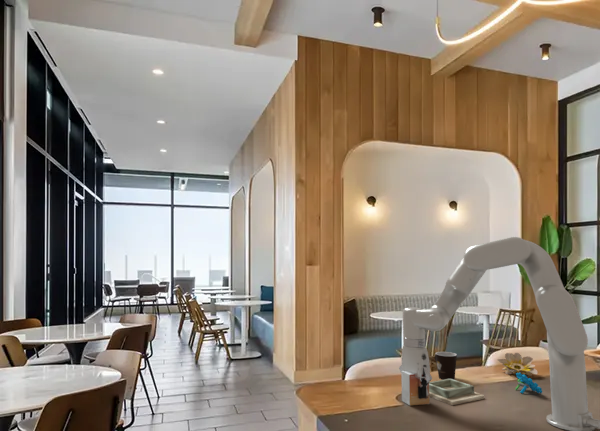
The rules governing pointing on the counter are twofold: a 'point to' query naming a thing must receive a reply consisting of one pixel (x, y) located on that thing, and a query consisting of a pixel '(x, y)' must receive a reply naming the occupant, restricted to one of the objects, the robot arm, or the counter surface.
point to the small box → (412, 389)
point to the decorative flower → (518, 364)
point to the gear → (527, 383)
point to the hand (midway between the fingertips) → (415, 394)
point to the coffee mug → (446, 364)
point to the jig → (453, 392)
